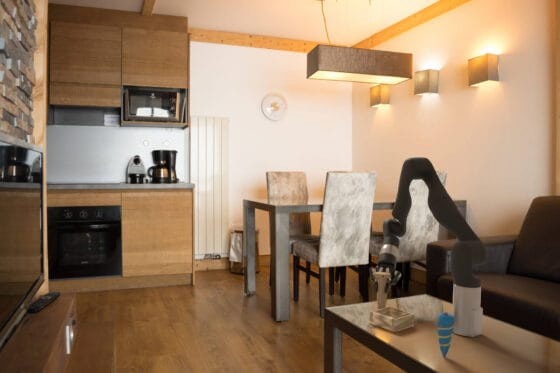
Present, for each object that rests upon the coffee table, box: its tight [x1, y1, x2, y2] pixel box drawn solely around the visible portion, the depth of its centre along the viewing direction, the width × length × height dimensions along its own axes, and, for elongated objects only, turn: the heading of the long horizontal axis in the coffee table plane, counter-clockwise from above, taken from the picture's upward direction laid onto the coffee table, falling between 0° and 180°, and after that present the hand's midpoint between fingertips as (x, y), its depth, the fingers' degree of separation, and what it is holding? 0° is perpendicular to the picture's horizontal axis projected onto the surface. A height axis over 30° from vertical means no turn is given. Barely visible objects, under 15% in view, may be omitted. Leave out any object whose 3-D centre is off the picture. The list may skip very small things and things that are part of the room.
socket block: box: [369, 306, 415, 333], centre depth 173 cm, size 12×12×5 cm
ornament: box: [436, 309, 455, 358], centre depth 143 cm, size 5×5×15 cm
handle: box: [373, 272, 391, 310], centre depth 189 cm, size 5×6×15 cm
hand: (380, 291), depth 187 cm, fingers closed on handle, 3 cm apart
